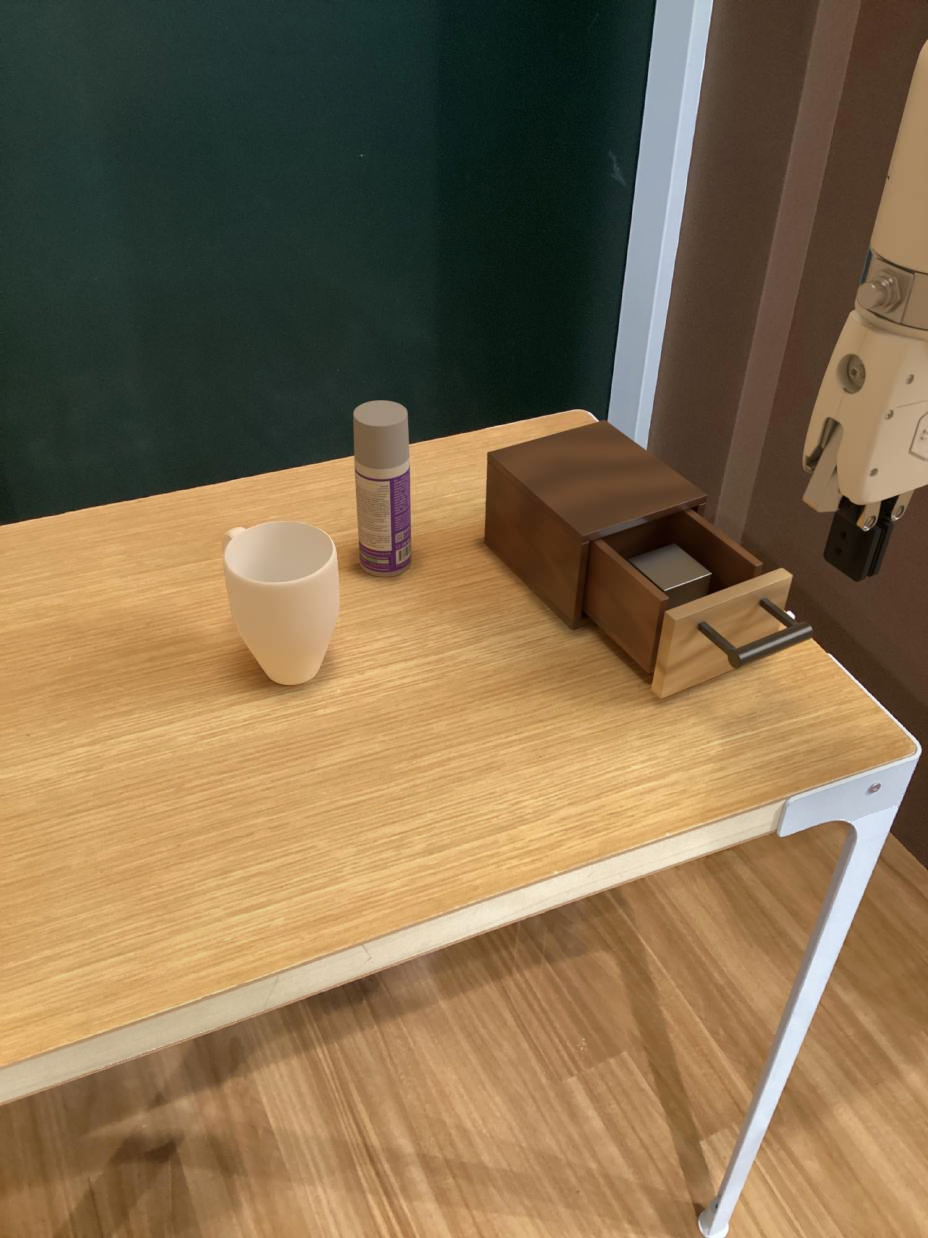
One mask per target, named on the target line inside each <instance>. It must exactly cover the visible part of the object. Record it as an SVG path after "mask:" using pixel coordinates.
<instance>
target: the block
mask: <svg viewBox="0 0 928 1238" xmlns="http://www.w3.org/2000/svg"><path fill="white" fill-rule="evenodd" d="M627 562H628V563H629V564H631V565H632V566H633V567H634V568H635V569H636V570H637V571H639V572H640V573H641V574H642V575H643V576H644V577H646V578H647V579H648V580H649V581H650V582H651V583H653V584H654V585H655V586H656V587H657V588H658V589H659V590H661V591H662V592H663V593H664V594H665V595H666V596H668V597H669V601H668V607H667V610H670V609H673V608H675V607H678V606H681V605H683V604H686V603H689V602H691V601H694V600H697V599H700V598H702V597H705V596H707V595H708V590H709V585H710V580H711V575H712V573H711V572H710V571H708V570H707V569H706V568H705V567H703V566H702V565H701V564H700V563H698V562H697V561H696V560H695V559H693V558H692V557H691V556H690V555H688V554H687V553H686V552H685V551H683V550H682V549H681V548H680V547H678V546H677V545H676V544H675V543H673V544H670V545H667V546H664V547H661V548H659V549H656V550H653V551H650V552H647V553H644V554H641V555H638V556H635V557H632V558H629V559H628V560H627Z"/></svg>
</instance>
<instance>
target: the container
mask: <svg viewBox="0 0 928 1238" xmlns="http://www.w3.org/2000/svg"><path fill="white" fill-rule="evenodd" d="M352 417H353V456H354V457H353V459H354V460H353V461H354V481H355V498H356V499H355V500H356V501H355V502H356V519H357V536H358V554H359V565H360V567H361V569H362V570H363V571H364V572H366V573H367V574H369V575H372V576H374V577H379V578H389V577H390V578H391V577H395V576H399V575H402V574H403V573H405V572H406V571H407V570H409V568H410V567H411V565H412V512H411V511H412V507H411V503H412V502H411V460H410V459H411V457H410V438H409V436H410V435H409V415H408V409H407V408H406V407H405V406H403V404H401V403H399V402H395V401H391V400H384V399H383V400H382V399H381V400H378V399H377V400H370V401H367V402H366V401H365V402H364V403H361V404H360V405H358V406H357V407H355V408H354V410H353V415H352Z"/></svg>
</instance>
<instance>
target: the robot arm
mask: <svg viewBox="0 0 928 1238" xmlns="http://www.w3.org/2000/svg"><path fill="white" fill-rule="evenodd" d="M914 67H915V68H914V71H913V74H912V78H911V82H910V85H909V90H908V94H907V96H906V102H905V104H904V105H905V106H904V109H903V113H902V116H901V121H900V124H899V129H898V132H897V136H896V140H895V144H894V148H893V151H892V156H891V159H890V163H889V166H888V171H887V175H886V179H885V183H884V187H883V190H882V195H881V198H880V202H879V206H878V209H877V214H876V218H875V222H874V226H873V229H872V233H871V237H870V240H869V245H868V250H867V253H866V256H865V261H864V265H863V268H862V273H861V276H860V280H859V284H858V288H857V290H856V297H855V300H854V309H853V310H851V311H850V312H849V314H848V317H847V319H846V321H845V323H844V324H843V325H844V326H843V327H842V330H841V332H840V334H839V336H838V339H837V342H836V344H835V346H834V349H833V351H832V354H831V356H830V359H829V362H828V365H827V367H826V370H825V373H824V376H823V378H822V380H821V381H822V382H821V384H820V387H819V390H818V393H817V397H816V399H815V403H814V406H813V409H812V412H811V417H810V420H809V424H808V428H807V432H806V436H805V442H804V447H803V453H802V468H803V469H802V470H803V471H804V472H805V473H807V474H811V477H810V479H809V481H808V484H807V486H806V488H805V490H804V492H803V495H802V502H803V503H804V504H805V505H806V506H808V507H810V508H811V509H813V510H814V511H816V512H817V513H821V514H822V513H834V514H833V517H832V518H833V519H832V521H831V525H830V528H829V533H828V535H827V538H826V543H825V545H824V549H823V553H822V554H823V556H822V557H823V559H824V560H825V562H827V563H828V564H830V566H832V567H834V568H835V569H836V570H837V571H839V572H841V573H842V574H844V575H845V576H846V577H848V578H849V579H851V580H852V581H853V582H855V583H859V582H861V581H865V580H866V579H867V578H872V577H874V576H876V575H878V574H879V573H880V570H881V567H882V565H883V560H884V558H885V554H886V551H887V549H888V546H889V543H890V540H891V536H892V534H893V530H894V527H895V523H893V522H896V521H898V520H899V519H901V518H902V517H903V516H904V514H905V513H906V510H907V508H908V506H909V503H910V501H911V498H912V497H913V494H914V492H915V491H916V489H919V488H921V487H924V486H927V485H928V39H926V41H925V43H924V44H923V46H922V48H921V49H920V52H919V54H918V58H917V61H916V64H915V66H914Z"/></svg>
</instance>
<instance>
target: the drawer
mask: <svg viewBox="0 0 928 1238" xmlns="http://www.w3.org/2000/svg"><path fill="white" fill-rule="evenodd" d="M673 543H675V544H676V545H677V546H678V547H680V548H681V549H682V550H683V551H685V552H686V553H687V554H688V555H690V556H691V557H692V558H693V559H695V560H696V561H697V562H698V563H700V564H701V565H702V566H703V567H705V568H706V569H707V570H708V571H710V572H711V573H712V575H711V580H710V585H709V590H708V595H707V596H705V597H702V598H700V599H697V600H694V601H691V602H689V603H686V604H683V605H681V606H678V607H675V608H673V609H670V610H667V607H668V601H669V597H668V596H666V595H665V594H664V593H663V592H662V591H661V590H659V589H658V588H657V587H656V586H655V585H654V584H653V583H651V582H650V581H649V580H648V579H647V578H646V577H644V576H643V575H642V574H641V573H640V572H639V571H637V570H636V569H635V568H634V567H633V566H632V565H631V564H629V563H628V562H627V560H628V559H629V558H632V557H635V556H638V555H641V554H644V553H647V552H650V551H653V550H656V549H659V548H661V547H664V546H667V545H670V544H673ZM763 564H764V563H763V562H762V561H761V560H759V559H758V558H757V557H756V556H754V555H753V554H752V553H750V552H749V551H748V550H746V549H745V548H743V546H741V545H740V544H738V543H737V542H735V541H734V540H733V539H731V538H730V537H729V536H728V535H726V534H725V533H724V532H722V531H721V530H720V529H719V528H717V527H716V526H715V525H713V524H712V523H710V522H709V521H708V520H706V518H704V516H703V517H701V516H700V515H699V514H697V513H696V512H695V511H693V510H692V509H691V508H689V509H686V510H683V511H680V512H677V513H674V514H671V515H668V516H665V517H662V518H659V519H656V520H653V521H649V522H646V523H643V524H640V525H637V526H634V527H631V528H628V529H625V530H622V531H619V532H616V533H613V534H610V535H607V536H604V537H601V538H598V539H595V540H592V541H589V548H588V557H587V566H586V575H585V584H584V594H583V603H582V610H583V611H584V612H585V613H586V614H587V615H588V616H589V617H590V618H591V619H592V620H593V621H594V622H593V623H595V625H597V626H598V627H599V628H600V629H601V630H602V631H603V632H604V633H605V634H606V635H607V636H608V637H610V638H611V639H612V641H614V642H615V643H616V644H617V645H618V646H619V647H620V648H621V649H622V650H623V651H624V652H625V653H626V654H627V655H628V656H629V657H630V658H631V659H632V660H633V661H634V662H636V664H637V665H639V666H640V667H641V668H642V669H643V671H645V672H646V673H647V674H653V678H652V683H651V691H652V692H653V693H654V694H655V695H656V696H657V697H658V698H659V699H660V700H662V699H664V698H667V697H670V696H672V695H674V694H676V693H679V692H681V691H684V690H686V689H688V688H691V687H693V686H696V685H698V684H701V683H703V682H706V681H708V680H710V679H713V678H715V677H718V676H720V675H723V674H725V673H728V672H730V671H732V670H740V669H742V668H744V667H747V666H749V665H751V664H754V663H756V662H759V661H761V660H763V659H766V658H768V657H771V656H773V655H776V654H778V653H781V652H782V651H784V650H787V649H790V648H792V647H795V646H797V645H800V644H802V643H805V642H807V641H810V640H812V638H813V637H814V629H813V627H812V625H811V624H810V623H809V622H807V621H800V622H798V621H797V620H796V619H794V618H793V617H792V616H790V615H789V614H788V613H787V612H785V608H786V604H787V601H788V596H789V592H790V588H791V585H792V580H793V577H794V576H793V574H792V573H791V572H789V571H788V570H786V569H785V568H783V567H779V568H776V569H775V570H772V571H769V572H766V573H763V574H761V573H762V569H763ZM781 624H782V625H783V626H784V628H783V629H780V626H781ZM785 627H786V628H785Z"/></svg>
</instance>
